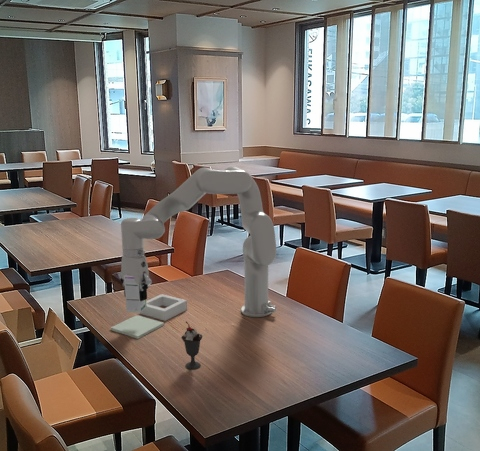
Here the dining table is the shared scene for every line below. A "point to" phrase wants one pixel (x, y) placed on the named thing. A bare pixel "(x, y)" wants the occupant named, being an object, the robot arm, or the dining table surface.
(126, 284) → the syrup box
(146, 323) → the mat
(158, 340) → the dining table surface
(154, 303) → the holder
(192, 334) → the sundae
